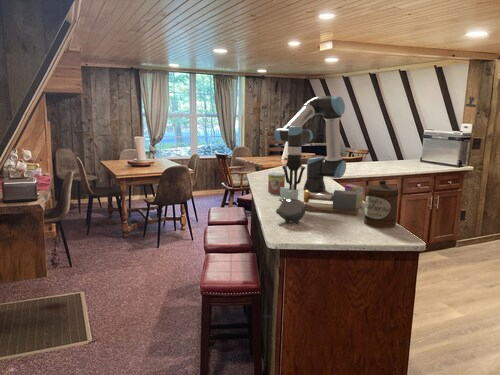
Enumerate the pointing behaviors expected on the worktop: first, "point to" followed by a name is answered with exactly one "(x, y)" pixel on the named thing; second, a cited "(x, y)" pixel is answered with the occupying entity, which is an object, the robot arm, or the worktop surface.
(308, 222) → the worktop surface
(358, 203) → the box
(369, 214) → the wooden container
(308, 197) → the shaft
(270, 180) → the canned food
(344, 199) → the housing
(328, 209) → the base board
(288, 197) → the l-shaped corner panel
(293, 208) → the piggy bank
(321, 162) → the robot arm
